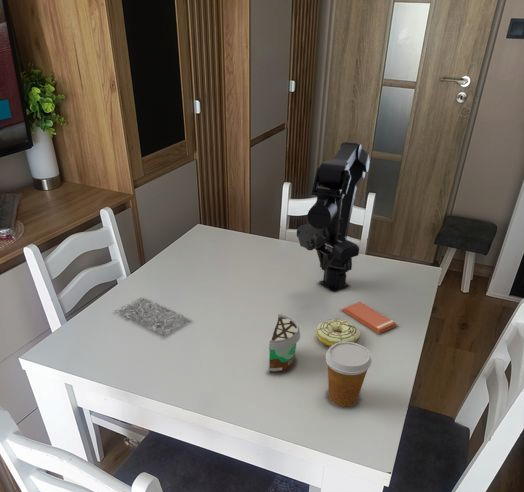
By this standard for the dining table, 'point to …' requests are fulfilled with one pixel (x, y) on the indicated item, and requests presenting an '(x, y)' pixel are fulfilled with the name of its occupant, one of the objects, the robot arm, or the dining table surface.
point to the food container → (283, 344)
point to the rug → (152, 316)
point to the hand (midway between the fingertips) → (324, 269)
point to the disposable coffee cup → (346, 372)
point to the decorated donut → (337, 332)
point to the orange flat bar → (369, 317)
